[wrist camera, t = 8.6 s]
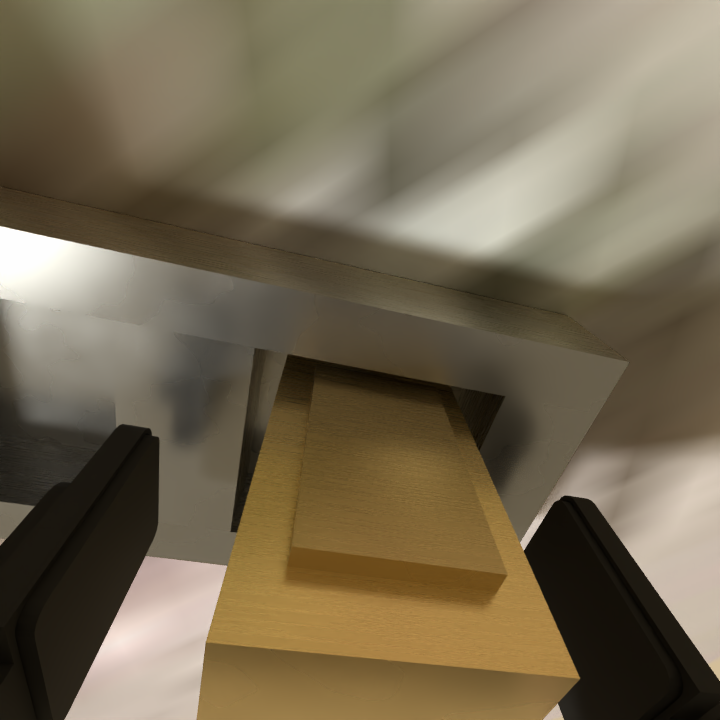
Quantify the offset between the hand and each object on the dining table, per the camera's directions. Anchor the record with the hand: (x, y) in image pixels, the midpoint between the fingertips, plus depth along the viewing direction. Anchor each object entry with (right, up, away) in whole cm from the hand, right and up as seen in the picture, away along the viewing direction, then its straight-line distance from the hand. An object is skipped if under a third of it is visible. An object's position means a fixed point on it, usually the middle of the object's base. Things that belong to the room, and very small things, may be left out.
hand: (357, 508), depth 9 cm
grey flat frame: (-5, +3, +3) cm, 6 cm away
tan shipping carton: (0, +2, +3) cm, 4 cm away
